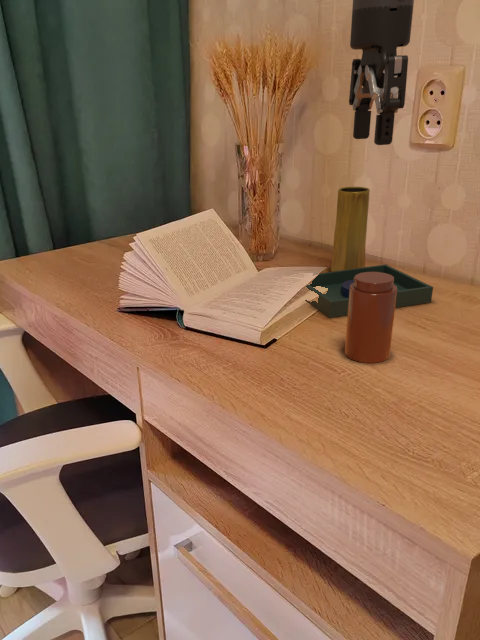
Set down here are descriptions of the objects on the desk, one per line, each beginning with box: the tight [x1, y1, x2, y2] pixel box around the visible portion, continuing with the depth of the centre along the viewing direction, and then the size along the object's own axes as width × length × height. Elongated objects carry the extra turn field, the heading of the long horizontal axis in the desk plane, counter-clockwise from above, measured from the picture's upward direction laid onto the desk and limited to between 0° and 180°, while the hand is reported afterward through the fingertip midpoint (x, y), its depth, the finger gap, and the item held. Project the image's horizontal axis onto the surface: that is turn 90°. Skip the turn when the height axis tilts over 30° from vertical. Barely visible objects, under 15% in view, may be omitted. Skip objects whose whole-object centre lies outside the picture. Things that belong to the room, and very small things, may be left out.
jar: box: [344, 272, 397, 364], centre depth 75 cm, size 6×6×10 cm
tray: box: [306, 263, 434, 319], centre depth 95 cm, size 17×13×2 cm
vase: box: [330, 186, 371, 272], centre depth 105 cm, size 6×6×14 cm
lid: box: [341, 280, 354, 298], centre depth 95 cm, size 6×6×2 cm
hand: (371, 141), depth 84 cm, fingers open, 8 cm apart
